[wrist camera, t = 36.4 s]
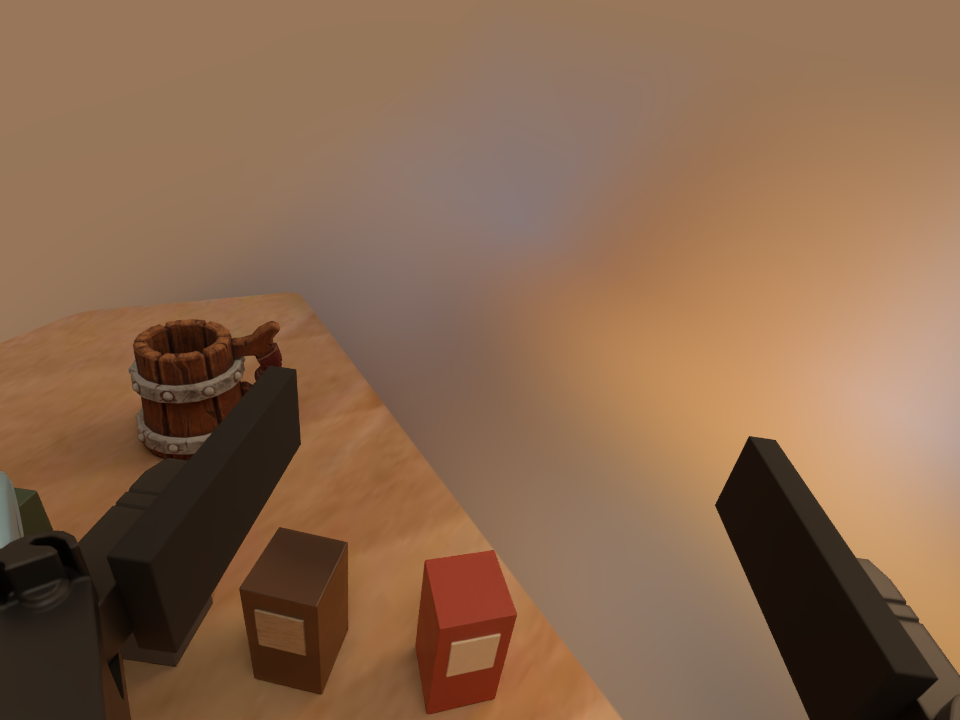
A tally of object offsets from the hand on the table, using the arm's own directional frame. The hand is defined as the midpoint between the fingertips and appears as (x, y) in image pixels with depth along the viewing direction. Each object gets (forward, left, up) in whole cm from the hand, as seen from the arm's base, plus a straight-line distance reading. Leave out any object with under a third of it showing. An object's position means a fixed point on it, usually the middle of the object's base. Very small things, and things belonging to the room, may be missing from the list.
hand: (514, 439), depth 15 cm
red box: (+10, 0, -30) cm, 32 cm away
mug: (+33, +30, -30) cm, 54 cm away
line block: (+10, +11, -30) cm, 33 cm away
